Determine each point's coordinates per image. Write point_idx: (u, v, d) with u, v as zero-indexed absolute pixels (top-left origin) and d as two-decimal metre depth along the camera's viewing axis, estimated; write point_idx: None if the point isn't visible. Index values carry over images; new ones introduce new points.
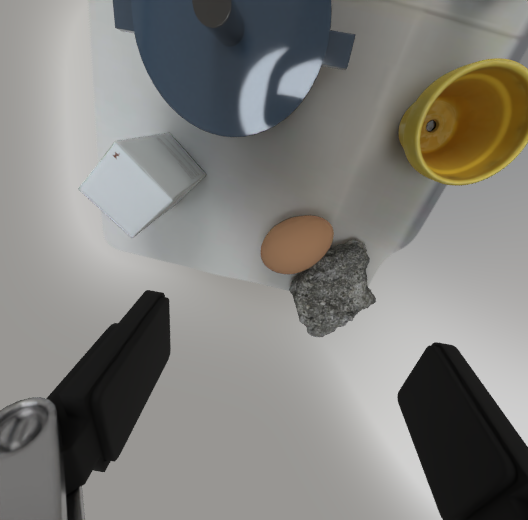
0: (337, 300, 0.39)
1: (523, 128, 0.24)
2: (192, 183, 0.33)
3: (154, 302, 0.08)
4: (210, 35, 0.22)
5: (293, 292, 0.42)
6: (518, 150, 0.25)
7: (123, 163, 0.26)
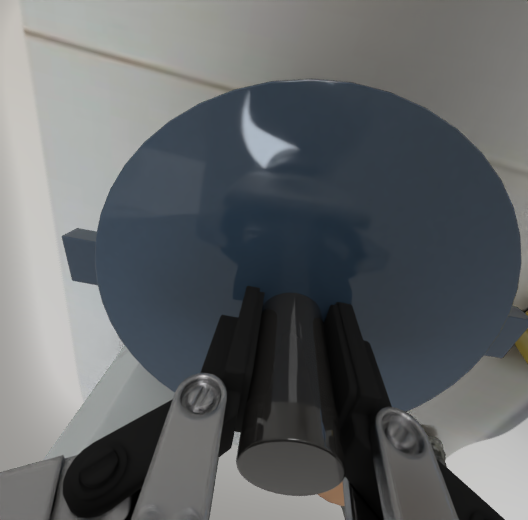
0: None
1: None
2: None
3: (258, 296, 0.09)
4: None
5: None
6: None
7: None
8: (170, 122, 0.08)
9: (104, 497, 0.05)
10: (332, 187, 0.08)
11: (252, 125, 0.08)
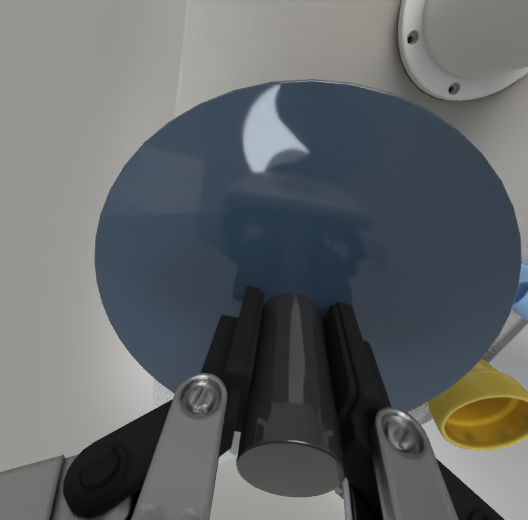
0: None
1: None
2: None
3: (258, 296, 0.09)
4: None
5: None
6: (524, 437, 0.30)
7: None
8: (170, 123, 0.08)
9: (104, 497, 0.05)
10: (332, 188, 0.08)
11: (252, 126, 0.08)
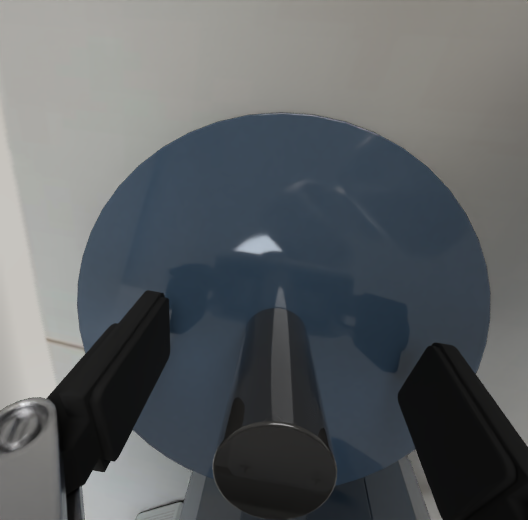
0: None
1: None
2: None
3: (154, 302, 0.08)
4: (236, 347, 0.11)
5: None
6: None
7: None
8: (162, 148, 0.09)
9: None
10: (305, 200, 0.09)
11: (233, 149, 0.09)
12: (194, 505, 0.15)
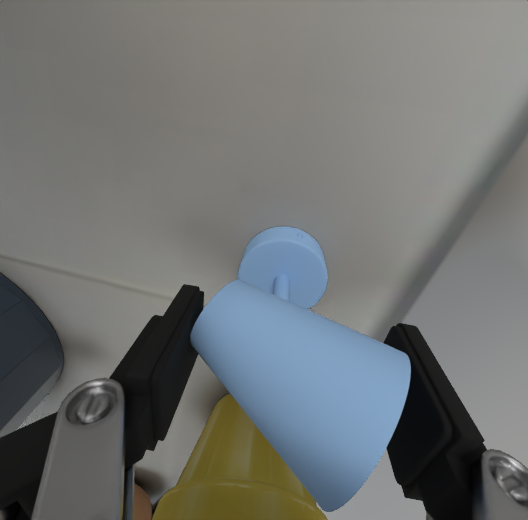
0: None
1: None
2: None
3: (192, 295, 0.09)
4: None
5: None
6: None
7: None
8: None
9: None
10: None
11: None
12: None
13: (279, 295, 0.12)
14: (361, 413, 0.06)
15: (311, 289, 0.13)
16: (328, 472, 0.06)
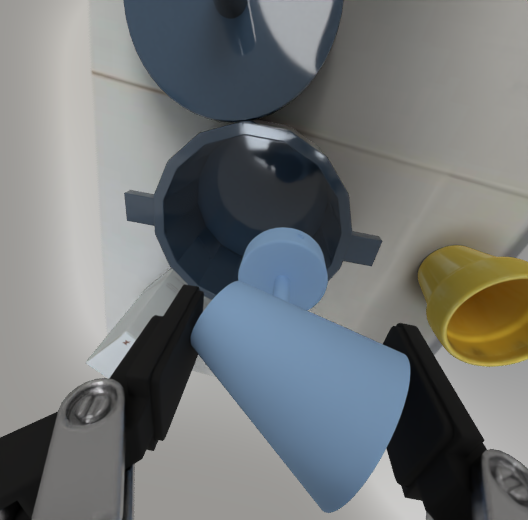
0: None
1: None
2: None
3: (193, 295, 0.09)
4: (209, 7, 0.20)
5: None
6: None
7: None
8: None
9: None
10: None
11: None
12: None
13: (279, 296, 0.12)
14: (361, 414, 0.06)
15: (311, 290, 0.13)
16: (328, 473, 0.06)
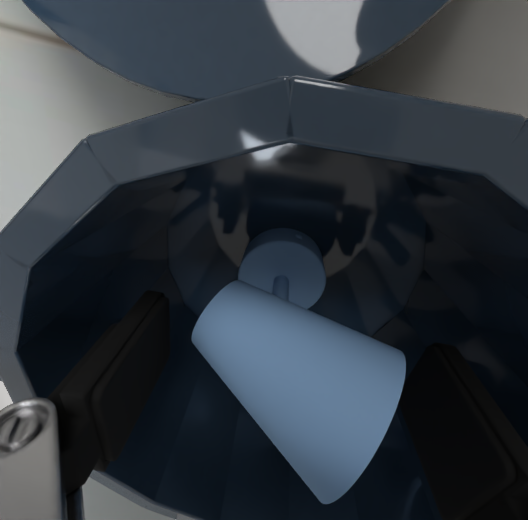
0: None
1: None
2: None
3: (154, 302, 0.08)
4: None
5: None
6: None
7: None
8: None
9: None
10: None
11: None
12: None
13: (278, 295, 0.12)
14: (358, 408, 0.06)
15: (310, 289, 0.14)
16: (326, 465, 0.06)
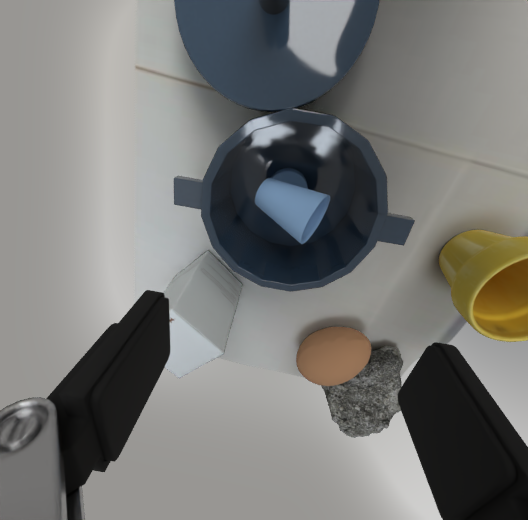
0: (372, 407, 0.39)
1: None
2: (234, 310, 0.33)
3: (154, 302, 0.08)
4: (254, 5, 0.22)
5: (325, 390, 0.42)
6: None
7: (178, 326, 0.26)
8: None
9: None
10: None
11: None
12: None
13: None
14: (311, 200, 0.22)
15: None
16: (302, 217, 0.22)
